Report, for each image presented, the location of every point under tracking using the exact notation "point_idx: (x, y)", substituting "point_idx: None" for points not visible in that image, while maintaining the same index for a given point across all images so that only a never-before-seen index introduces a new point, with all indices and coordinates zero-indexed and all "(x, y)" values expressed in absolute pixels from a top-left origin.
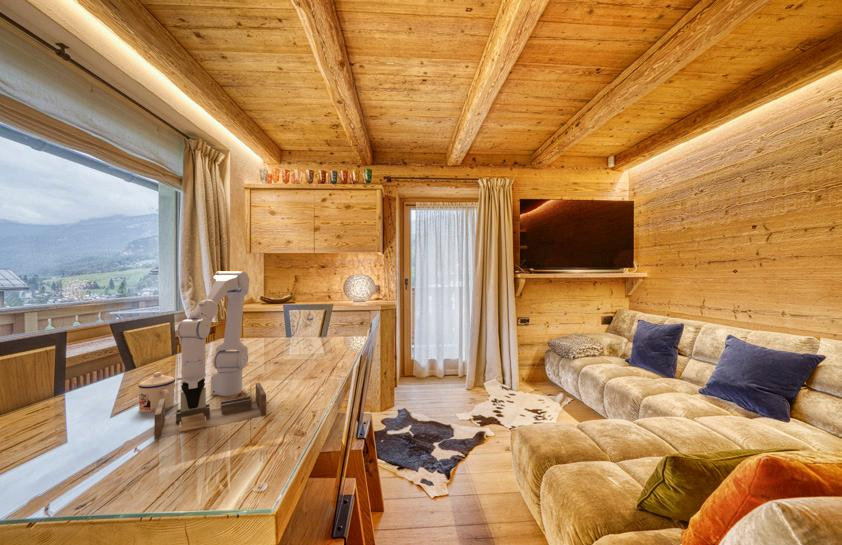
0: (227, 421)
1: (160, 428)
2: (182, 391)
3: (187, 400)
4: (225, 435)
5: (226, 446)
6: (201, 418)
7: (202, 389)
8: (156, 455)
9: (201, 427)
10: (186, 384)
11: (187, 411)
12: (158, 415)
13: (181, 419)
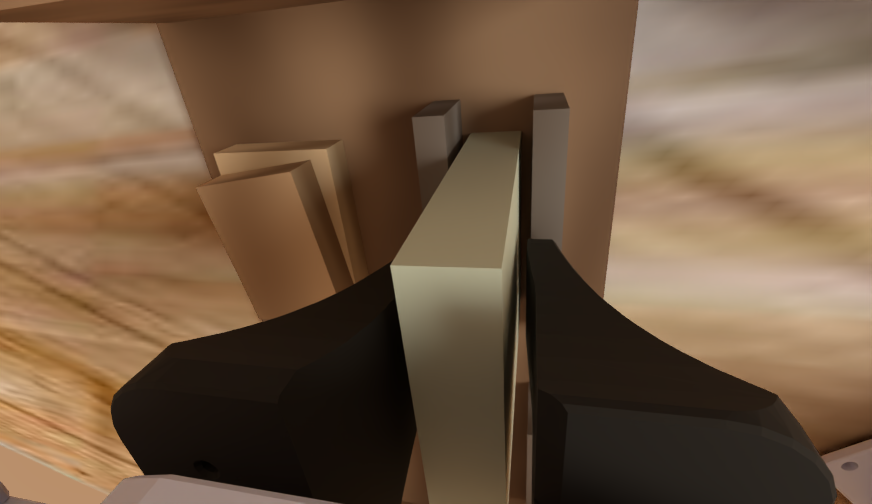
0: None
1: (110, 22)
2: (450, 290)
3: (372, 278)
4: None
5: (97, 330)
6: (254, 298)
7: (428, 489)
8: (16, 43)
9: None
10: (281, 474)
11: None
12: None
13: (264, 175)
